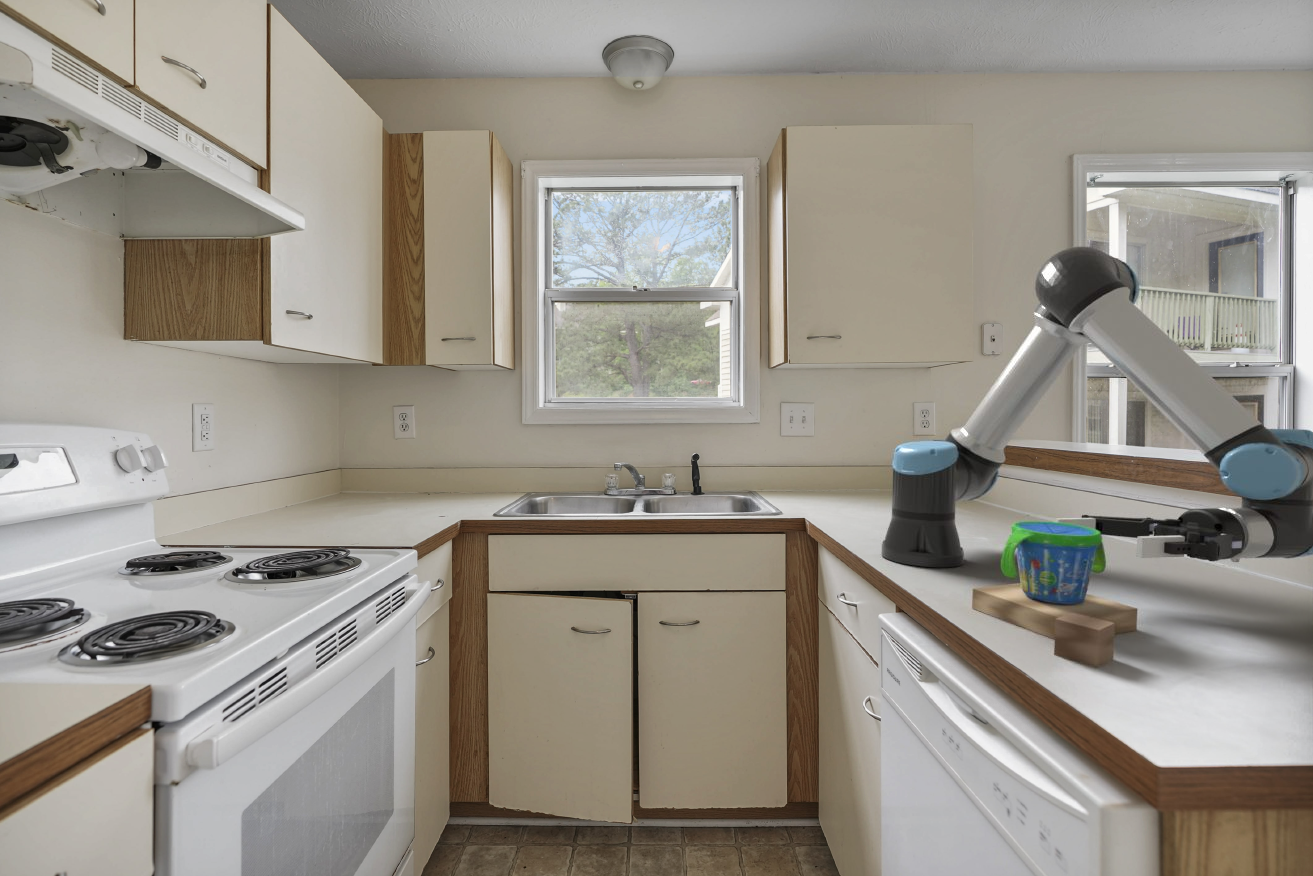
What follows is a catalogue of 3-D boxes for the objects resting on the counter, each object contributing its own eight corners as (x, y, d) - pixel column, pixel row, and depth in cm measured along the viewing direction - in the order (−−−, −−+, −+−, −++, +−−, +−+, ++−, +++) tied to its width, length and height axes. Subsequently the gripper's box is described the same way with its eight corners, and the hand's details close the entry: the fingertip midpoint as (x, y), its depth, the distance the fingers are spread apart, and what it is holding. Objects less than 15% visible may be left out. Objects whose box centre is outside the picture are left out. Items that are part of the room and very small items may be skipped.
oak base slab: (972, 608, 90) (972, 588, 90) (1039, 599, 95) (1040, 580, 94) (1062, 642, 77) (1063, 619, 77) (1136, 630, 81) (1137, 608, 81)
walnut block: (1054, 655, 73) (1055, 618, 73) (1070, 647, 75) (1072, 612, 75) (1097, 668, 69) (1099, 630, 69) (1112, 660, 72) (1114, 622, 72)
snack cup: (1027, 611, 79) (1030, 535, 79) (977, 588, 90) (979, 520, 90) (1135, 609, 81) (1139, 534, 81) (1073, 586, 91) (1076, 520, 91)
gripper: (1323, 582, 77) (1181, 587, 74) (1139, 540, 102) (1027, 543, 98) (1326, 524, 77) (1184, 527, 73) (1141, 496, 101) (1029, 498, 98)
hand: (1094, 536), depth 86 cm, fingers open, 13 cm apart
